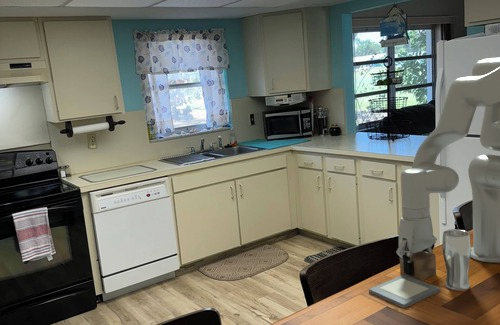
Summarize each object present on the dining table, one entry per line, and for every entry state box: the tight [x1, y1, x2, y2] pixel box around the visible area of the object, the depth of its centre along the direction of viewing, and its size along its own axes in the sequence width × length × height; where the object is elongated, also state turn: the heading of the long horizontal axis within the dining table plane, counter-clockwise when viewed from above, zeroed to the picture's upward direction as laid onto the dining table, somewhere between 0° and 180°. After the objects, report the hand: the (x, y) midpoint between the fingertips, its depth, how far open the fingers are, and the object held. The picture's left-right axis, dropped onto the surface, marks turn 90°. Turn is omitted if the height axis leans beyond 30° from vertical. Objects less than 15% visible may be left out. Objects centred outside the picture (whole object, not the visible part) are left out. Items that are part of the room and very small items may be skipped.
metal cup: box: [441, 228, 472, 292], centre depth 125 cm, size 7×7×15 cm
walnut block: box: [399, 251, 437, 281], centre depth 135 cm, size 7×7×6 cm
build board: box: [368, 274, 441, 309], centre depth 125 cm, size 14×12×1 cm
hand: (417, 270), depth 136 cm, fingers closed on walnut block, 7 cm apart
